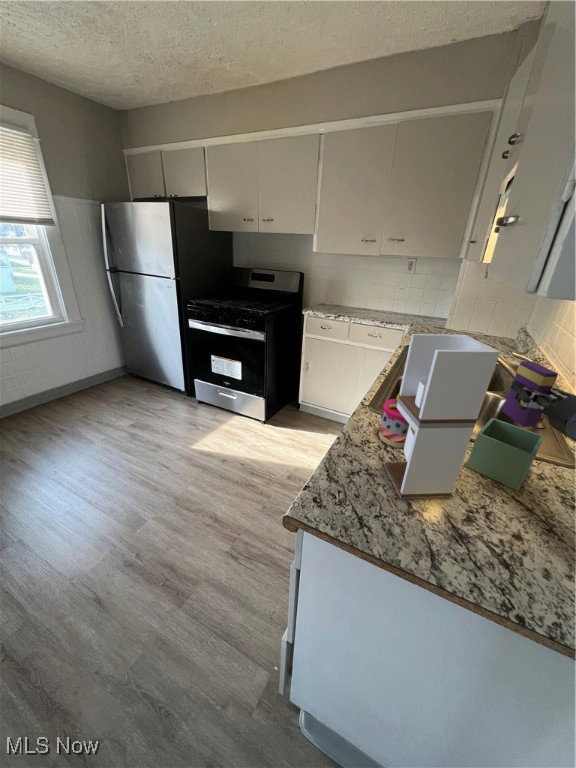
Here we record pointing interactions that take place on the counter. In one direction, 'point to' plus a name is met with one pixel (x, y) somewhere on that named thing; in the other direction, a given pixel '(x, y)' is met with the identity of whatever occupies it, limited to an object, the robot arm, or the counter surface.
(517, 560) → the counter surface
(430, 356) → the display case
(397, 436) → the cake
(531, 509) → the counter surface
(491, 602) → the counter surface
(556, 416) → the robot arm
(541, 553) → the counter surface
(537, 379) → the chocolate bar
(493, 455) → the waste bin
